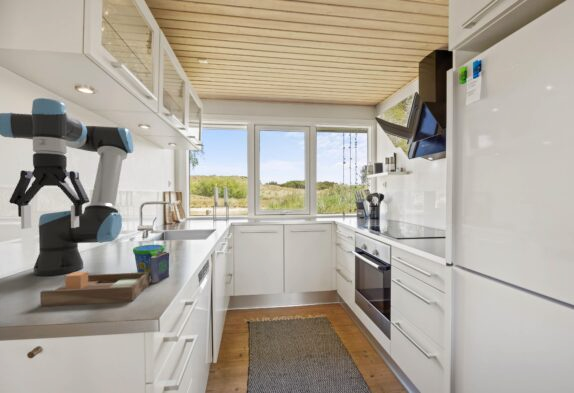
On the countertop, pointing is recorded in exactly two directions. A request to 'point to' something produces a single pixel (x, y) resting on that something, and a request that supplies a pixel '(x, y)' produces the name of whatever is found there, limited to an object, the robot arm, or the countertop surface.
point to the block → (76, 280)
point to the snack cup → (145, 256)
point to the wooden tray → (99, 290)
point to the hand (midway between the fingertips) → (51, 227)
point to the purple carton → (159, 266)
